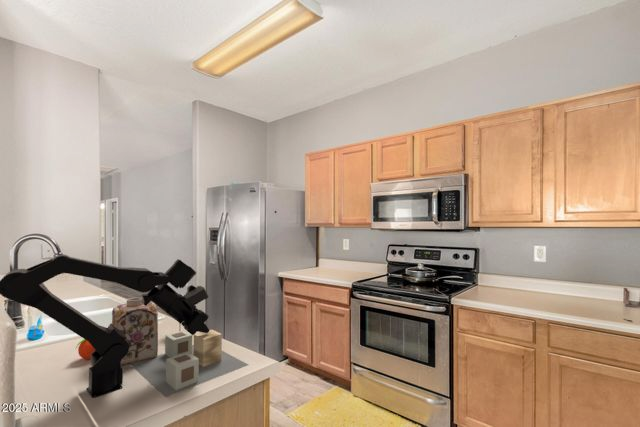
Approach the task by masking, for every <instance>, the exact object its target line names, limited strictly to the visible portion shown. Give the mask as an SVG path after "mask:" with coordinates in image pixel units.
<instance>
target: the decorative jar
mask: <svg viewBox="0 0 640 427" xmlns="http://www.w3.org/2000/svg"><path fill="white" fill-rule="evenodd" d="M158 315H159V312H158V308H157V305H156V304H155V303H153V302H152V301H150V302H149V303H148V304H147V305H146V306H145V305H144V304H143V303H142V296H141V297H140V296H138V297H131V298H127V299H126V303H123V304H119V305H116V306H114V307H113V308H112V312H111V318H112V319H111V323H112V324H113V325H114V326H115V327H116V328H117V329H118V330H122V331H123V332H124V334H125V335H126V337H127V339H126V340H127V342H128V344H129V351H128V353H127V355H126V356H125V357H124V358H123V359H122V360H121V362H120V363H121V366H123V365H126V364H131V363H135V362H138V361H141V360H145V359H149V358H153V357H157V356H158V355H159V354H158V352H159V318H158Z"/></svg>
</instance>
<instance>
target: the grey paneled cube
mask: <svg viewBox="0 0 640 427" xmlns="http://www.w3.org/2000/svg"><path fill="white" fill-rule="evenodd" d="M198 372H199V359H198V358H197V357H195V356H193V355H192V354H190V353H189V352H188V353H185V354H181V355H178V356H175V357H172V358H168V359H166V382H167V383H168V384H169V385H170V386H171V387H173V388H174V389H175V390H177V389H180V388H183V387H185V386H188V385H190V384H193V383H196V382H198Z"/></svg>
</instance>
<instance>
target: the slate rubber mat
mask: <svg viewBox="0 0 640 427" xmlns="http://www.w3.org/2000/svg"><path fill="white" fill-rule="evenodd" d="M193 353H194V344H192V355H193ZM168 358H170V357H168V356H167V355H166V354H165V353H163V354H158V355H157V357H153V358H149V359H145V360H141V361H136V362H132V363H129V365H130V366H131V367H132V368H133V369H134V370H135V371H137V372H138V374H140V375H141V376H142V377H143V378H144V379H145V380H146V381H148V383H150V385H152V386H153V387H154V388H155V389H156V390H157V391H159V392H160V394H162V395H163V396H164V397H165V398H168V397H171V396H173V395H176V394H178V393H181V392H184V391H186V390H188V389H191V388H193V387H196V386H199V385H201V384H204V383H206V382H209V381H211V380H214V379H216V378H220V377H221V376H224V375H227V374H228V373H232V372H234V371H236V370H239V369H242V368H244V367H247V366H249V364H248V363H246V362H245V361H242V360H241V359H239V358H237V357H235V356H234V355H231V354H230V353H227V352H225V351H224V350H222V356H221V361H218V362H215V363H212V364H210V365H207V366H204V367H203V366H201V365H199V372H198V382H196V383H193V384H190V385H188V386H185V387H183V388H180V389H177V390H175V389H174V388H173V387H171V386H170V385H169V384H168V383H167V382H166V359H168Z"/></svg>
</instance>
